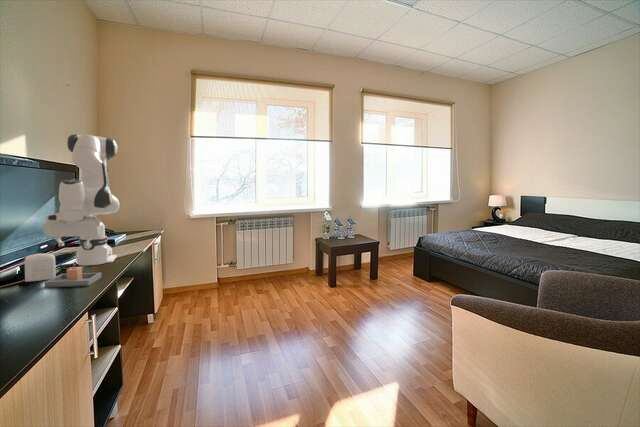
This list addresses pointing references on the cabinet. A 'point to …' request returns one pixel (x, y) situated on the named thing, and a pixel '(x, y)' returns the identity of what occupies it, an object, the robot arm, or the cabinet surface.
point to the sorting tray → (62, 280)
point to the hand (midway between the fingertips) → (74, 246)
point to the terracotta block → (74, 273)
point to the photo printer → (39, 267)
